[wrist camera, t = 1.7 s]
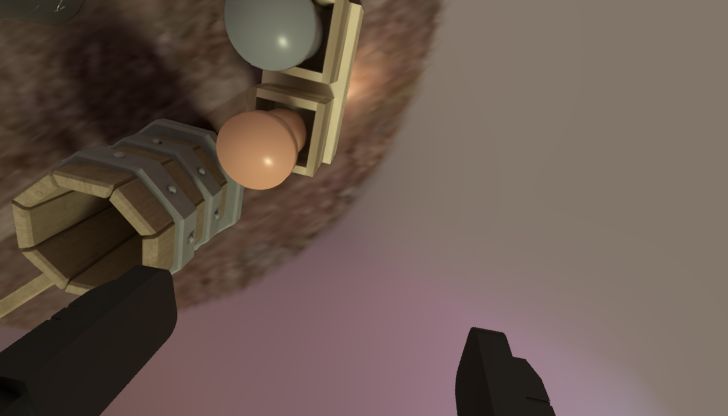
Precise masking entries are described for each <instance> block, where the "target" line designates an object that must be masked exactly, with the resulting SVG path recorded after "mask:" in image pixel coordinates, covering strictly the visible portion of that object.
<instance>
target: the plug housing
mask: <svg viewBox="0 0 728 416" xmlns="http://www.w3.org/2000/svg"><path fill="white" fill-rule="evenodd" d="M311 1H312V3H313V5H314V8H315V11H316V12H317V13H318V14H319V16H320V17H321V19H322V22H323V25H324V30H325V37H324V42H323V45H322V47H321V49H320V51H319V52H318V53H317V54H316V55H315V56H314V57H312V58H310V59H308V60H304V61H303V62H302V63H300V64H299V65H297V66H295V67H293V68H290V69H286V70H276V71H272V70H264V69H263V74H262V83H261V84H257V85H251V86H249V91H248V101H247V111H251V110H262V111H267V112H269V111H271V110H273V109H276V108H280V107H286V108H290V109H293V110H295V111H296V112H298V113H299V114H300V115H301V116H302V117H303V118H304V120H305V122H306V124H307V127H308V139H307V142H306V144H305V145H304V147H303V148H302V149H301V150H300V151H299V152H298V158H297V162H296V165H295V167H294V169H293V170H292V171H291V172H294V173H299V174H303V175H307V176H311V177H313V175H314V174H315V172H316V171H317V169H318V167H319V166H320V164H321V162H324V163H328V164H330V163H331V161H332V159H333V157H334V155H335V153H336V148H337V143H338V138H339V133H340V128H341V123H342V118H343V113H344V108H345V103H346V99H347V94H348V89H349V84H350V79H351V74H352V69H353V64H354V59H355V54H356V49H357V44H358V39H359V34H360V29H361V24H362V19H363V14H364V11H363V9H362V6H361V5H358V4H354V3H350V2H349V0H311ZM251 65H252V64H251ZM252 66H254V65H252Z"/></svg>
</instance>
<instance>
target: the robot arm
mask: <svg viewBox="0 0 728 416" xmlns="http://www.w3.org/2000/svg"><path fill="white" fill-rule="evenodd" d="M82 3H83V0H0V19H4V20H13V21H23V22H32V23H42V24H58V23H63V22H65V21H67V20H69V19H71V18H72V17H73V16H74V15H75V14H76V13H77V12H78V10H79V9H80V7H81V5H82ZM176 322H177V308H176V301H175V293H174V286H173V279H172V274H171V272H170V271H169V270H167V269H161V268H156V267H151V266H145V265H136V266H134V267H132V268H131V269H130V270H128V271H127V272H125V273H124V274H123V275H121V276H120V277H119V278H117V279H116V280H112V281H109V282H107V283H105V284H102V285H100V286H98V287H95V288H93V289H91V290H89V291H87V292H86V293H84V294H83V295H82V296H80V297H79V298H77V299H76V300H74V301H73V302H72V303H70V304H69V306H68V307H67V308H65V307H64V308H63V309H62V310H60V311H59V312H57V313H56V314H54V315H53V316H52V317H51V319H50V320H46V321H44V322H43V323H42V324H40V325H39V326H37V327H36V328H35V329H33V330H32V331H30V332H29V333H27V334H26V335H25V336H23V337H22V338H20V339H19V340H17V341H16V342H15V343H13V344H12V345H10V346H9V347H8V348H6V349H5V350H4V351H2V352H0V416H100V414H101V413H102V412H103V411H104V410H105V409H106V408H107V407H108V405H109V404H110V403H111V402H112V401H113V400H114V399H115V398H116V396H117V395H118V394H119V393H120V392H121V391H122V390H123V389H124V388H125V386H126V385H127V384H128V383H129V382H130V381H131V380H132V378H134V376H135V375H136V374H137V373H138V372H139V371H140V370H141V369H142V367H143V366H144V365H145V364H146V363H147V362H148V361H149V360H150V358H151V357H152V356H153V355H154V354H155V353H156V351H158V349H159V348H160V347H161V346H162V345H163V344H164V343H165V342H166V341H167V339H168V338H169V337H170V336H171V334H172V332H173V330H174V328H175V325H176ZM455 396H456V407H457V415H458V416H556V415H555V413H554V410H553V408H552V406H550V400H549V397H548V395H547V392H546V389H545V387H544V384H543V382H542V379H541V378H540V377H539V376H538V374H537V373H536V372H535V371H534V369H533V368H532V367H531V366H530V364H529V363H528V362H527V361H526V359H522V358H517V357H513V356H512V353H511V350H510V347H509V344H508V340H507V338H506V335H505V334H504V333H503V332H498V331H492V330H487V329H481V328H476V327H472V328H471V329H470V331H469V334H468V337H467V341H466V344H465V347H464V350H463V354H462V357H461V360H460V364H459V367H458V370H457V375H456V384H455Z"/></svg>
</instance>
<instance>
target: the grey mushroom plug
mask: <svg viewBox="0 0 728 416" xmlns="http://www.w3.org/2000/svg"><path fill="white" fill-rule="evenodd" d="M224 18H225V26H226V30H227V33H228V36H229V38H230V41H231V43H232V44H233V46H234V48H235V49H236V50H237V52H238V53H239V54H240V55H241V56H242V57H243V58H244V59H245V60H246V61H247V62H249V63H250V64H252V65H254V66H256V67H258V68H261V69H264V70H272V71H276V70H286V69H290V68H293V67H295V66H297V65H299V64H300V63H302V62H303V61H304V60H308V59H310V58H312V57H314V56H315V55H316V54H317V53H318V52H319V51H320V49H321V47H322V45H323V42H324V37H325V30H324V25H323V22H322V19H321V17H320V16H319V14H318V13H317V12H316V11H315V8H314V5H313V3H312V1H311V0H226V3H225V11H224Z"/></svg>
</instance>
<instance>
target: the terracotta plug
mask: <svg viewBox="0 0 728 416" xmlns="http://www.w3.org/2000/svg"><path fill="white" fill-rule="evenodd" d="M307 139H308V127H307V124H306V122H305V120H304V118H303V117H302V116H301V115H300V114H299V113H298V112H296V111H295V110H293V109H290V108H286V107H280V108H276V109H273V110H271V111H269V112H267V111H262V110H251V111H247V112H244V113H241V114H238V115H236V116H234V117H232V118H230V119H229V120H228V121H227V122H226V123H225V124H224V125H223V126H222V128H221V129H220V131H219V134H218V137H217V142H216V150H217V155H218V159H219V161H220V164H221V166H222V167H223V169H224V170H225V172H226V173H227V174H228V175H229V176H230V177H231V178H232V179H233V180H234V181H236V182H237V183H239V184H241V185H242V186H245V187H248V188H251V189H259V190H262V189H269V188H272V187H275V186H277V185H279V184H280V183H281V182H283V181H284V180H285V179H286V178H287V176H288V175H289V174H290V173H291V171H292V170H293V169H294V167H295V165H296V162H297V158H298V152H299V151H300V150H301V149H302V148H303V147H304V145H305V144H306V142H307Z"/></svg>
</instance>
